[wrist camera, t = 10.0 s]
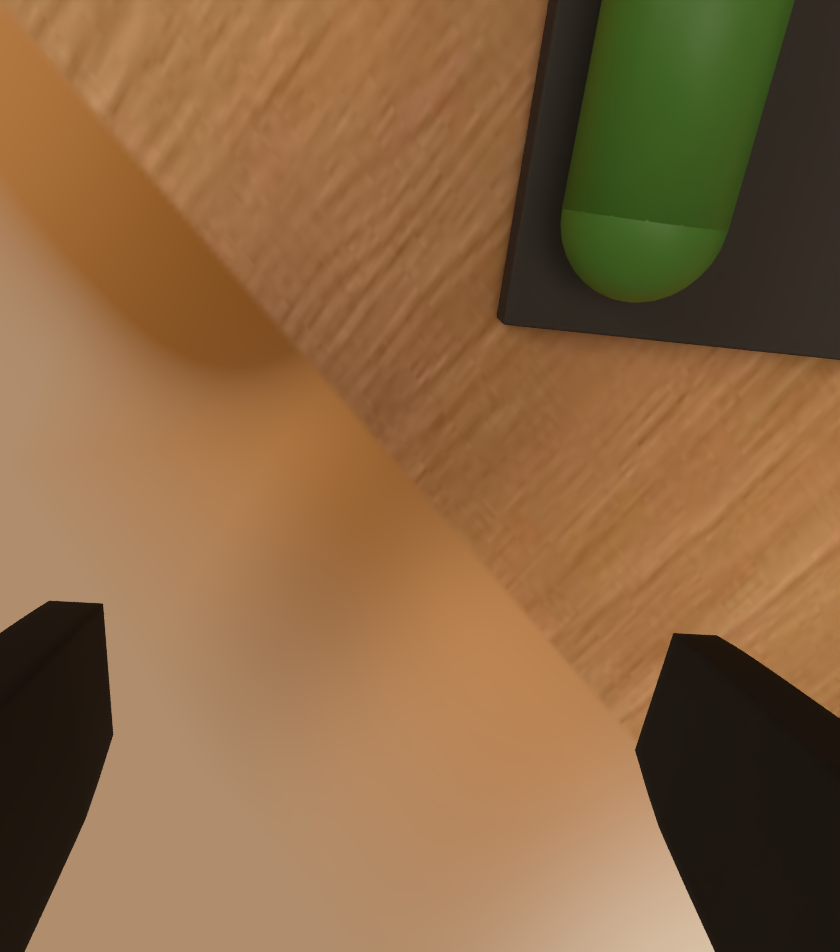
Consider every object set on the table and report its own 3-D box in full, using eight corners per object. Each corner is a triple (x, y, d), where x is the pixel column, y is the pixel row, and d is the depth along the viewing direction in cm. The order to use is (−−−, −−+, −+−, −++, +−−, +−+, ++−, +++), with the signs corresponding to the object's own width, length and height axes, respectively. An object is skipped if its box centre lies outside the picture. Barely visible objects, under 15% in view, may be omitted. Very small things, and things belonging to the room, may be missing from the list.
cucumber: (640, 292, 16) (738, 322, 13) (520, 282, 15) (600, 313, 12) (782, -285, 12) (965, -410, 9) (632, -358, 11) (790, -525, 8)
